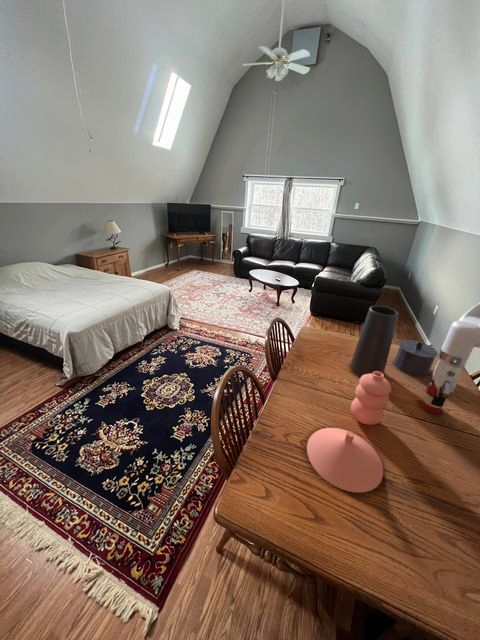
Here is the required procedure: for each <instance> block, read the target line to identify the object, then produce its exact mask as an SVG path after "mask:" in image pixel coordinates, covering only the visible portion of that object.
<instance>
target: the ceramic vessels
mask: <svg viewBox="0 0 480 640" xmlns="http://www.w3.org/2000/svg"><path fill="white" fill-rule="evenodd" d="M358 382H359V383H358V384H357V386H356V387H355V396H356V397H355V398H354V399H353V400H352V402H351V404H350V412H351V414H352V416H353V417H354V419H355V420H356V421H358V422H360V423H361V424H364V425H368V426H373V425H377V424H379V423H380V422H381V421H382V420H383V417H384V407H386V406H387V404H388V403H389V401H390V396H389V394H390V393H391V392H392V385H391V383H390V381H389V380H387V379H386V378H385V375H384V374H383V373H381V372H378V371H374V372H373V374H365V375H363V376H362V377H360V378H359V380H358ZM306 453H307V457H308V459H309V463H310V464H311V466H312V468H313V469H314V470H315V471H316V472H317V473H318V475H319V476H320V477H321V478H322V479H324V481H326V482H327V483H329V484H331V485H332V486H334V487H336V488H338V489H340V490H343V491H346V492H351V493H356V494H358V493H360V494H361V493H367V492H370V491H373V490H375V489H376V488H377V487H378V486H379V485H380V484H381V483H382V480H383V477H384V467H383V462H382V460H381V458H380V456H379V454H378V452H377V451H376V450H375V448H373V446H372V445H371V444H369V442H367V441H366V440H364V439H363V438H362V437H361V436H359V435H357V434H356V433H354V432H353V431H351V430H347V429H343V428H339V427H325V428H320V429H318V430H316V431H315V432H313V433H312V434H311V435H310V437H309V438H308V440H307V444H306Z"/></svg>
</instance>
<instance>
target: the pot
mask: <svg viewBox="0 0 480 640" xmlns="http://www.w3.org/2000/svg"><path fill="white" fill-rule="evenodd" d="M435 359H436V357H435V358H422V357H418V356H414V355H412V354H409V353H407V352H406V351H404V350H403V349H401V347H400V346H399V347H398V350H397V352H396V356H395V359H394V362H393V363H394V366H395V367H396V368H397V369H399V370H400V371H402V372H404V373H406V374H408V375H412V376H416V377H425V376H428V374H429V373H430V370H431V368H432V367H433V364H434V361H435Z"/></svg>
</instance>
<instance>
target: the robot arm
mask: <svg viewBox="0 0 480 640" xmlns="http://www.w3.org/2000/svg"><path fill="white" fill-rule="evenodd" d="M474 348H479V349H480V302H478V303H477V304H475V305H474V306H472V307H471V308H470V309H469V310H467V311H466V312H465V313H464V314H463V315H462V316H460V317H459V319H458V320H456V321H453V322H452V324H451V325H450V327H449V330H448V332H447V334H446V337H445V339H444V341H443V344H442V346H441V348H440V351H439V352H438V355H437V358H438V361H437V363H436V366H435V367H434V370H433V372H432V378H431V380H430V381H429V383H431V382H435V386H436V388H437V393H436V395H434V397H433V400H432V402H431V404H432V405H435V406H439V407H442V406H443V407H444V405H445V403H446V400H447V399H448V396H449V395H450V393H451V394H453V393H454V391H455V389H456V387H457V384H458V381H459V380H460V376H461V373H462V370H463V367H465V366H466V364H467V363H468V360H469V358H470V356H471V354H472V352H473V350H474ZM440 387H444V389H443V388H440ZM440 390H442V391H443V393H440ZM444 402H445V403H444ZM443 404H444V405H443ZM443 407H442V408H443Z"/></svg>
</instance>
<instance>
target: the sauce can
mask: <svg viewBox="0 0 480 640" xmlns="http://www.w3.org/2000/svg"><path fill="white" fill-rule="evenodd" d="M430 382H431V381H430ZM430 382H429V383H428V385H427V387H426V389H425V391H424V393H423V396H422V398H421V401H420V406H421V407H422V408H423V409H424V410H425V411H427V412H429V413H432V414H439V413H441V411H442V408H443V407H444V405H445V403H446V401H445V402H444V404H443V406H442V407H439V406H435V405H432V404H431V402H432V400H433V397H434V395H436V393H437V388H436V386H435V382H431V383H430ZM440 388H443V389H444V387H440ZM440 393H443V391H442V390H440Z"/></svg>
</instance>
